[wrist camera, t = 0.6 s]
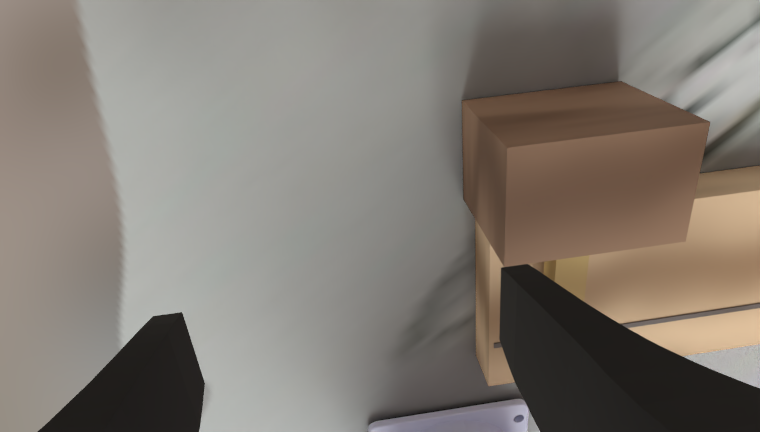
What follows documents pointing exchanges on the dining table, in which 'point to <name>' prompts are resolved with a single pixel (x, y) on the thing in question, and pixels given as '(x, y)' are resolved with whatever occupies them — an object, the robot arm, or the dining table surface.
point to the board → (661, 279)
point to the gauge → (579, 174)
